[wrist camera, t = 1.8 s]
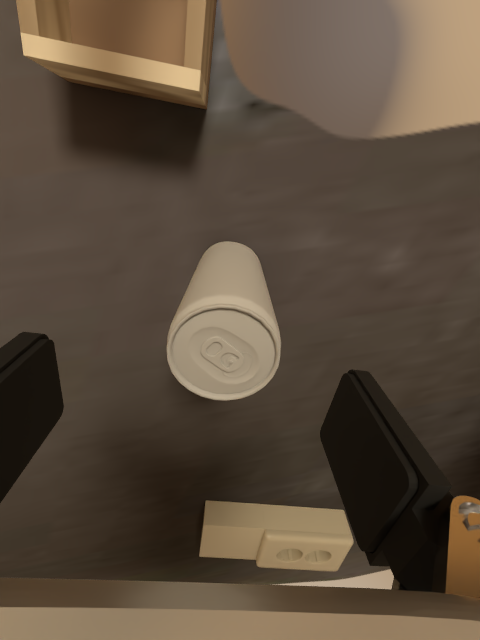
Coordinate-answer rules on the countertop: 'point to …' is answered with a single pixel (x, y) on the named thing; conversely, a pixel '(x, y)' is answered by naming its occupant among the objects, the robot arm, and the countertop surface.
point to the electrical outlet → (276, 535)
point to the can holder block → (124, 44)
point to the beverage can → (225, 327)
